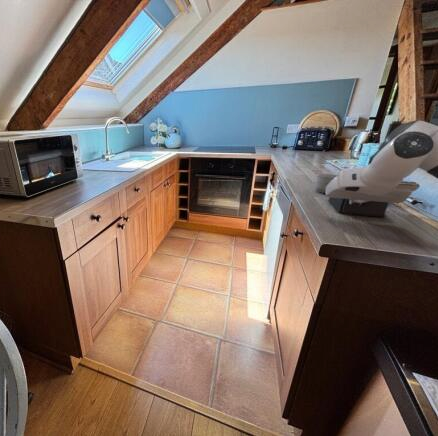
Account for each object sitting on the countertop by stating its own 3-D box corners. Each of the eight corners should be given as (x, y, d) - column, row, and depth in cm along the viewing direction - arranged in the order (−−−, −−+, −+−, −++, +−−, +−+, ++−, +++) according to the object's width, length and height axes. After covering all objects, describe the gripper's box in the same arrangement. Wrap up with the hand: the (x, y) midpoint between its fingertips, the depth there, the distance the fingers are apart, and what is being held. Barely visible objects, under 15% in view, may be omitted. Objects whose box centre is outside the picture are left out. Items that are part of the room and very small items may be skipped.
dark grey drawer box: (383, 217, 83) (393, 190, 79) (338, 212, 87) (346, 187, 84) (366, 204, 95) (375, 180, 92) (328, 200, 100) (334, 177, 96)
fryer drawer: (385, 217, 81) (393, 194, 78) (343, 213, 85) (350, 191, 82) (367, 203, 93) (374, 183, 90) (332, 200, 97) (337, 181, 94)
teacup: (310, 192, 110) (314, 175, 107) (315, 187, 118) (319, 171, 115) (348, 198, 102) (354, 180, 98) (351, 193, 109) (357, 175, 106)
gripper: (422, 173, 68) (392, 197, 80) (335, 169, 75) (319, 192, 88) (425, 193, 66) (394, 214, 78) (335, 186, 73) (319, 207, 85)
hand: (354, 202), depth 83 cm, fingers closed, pressing on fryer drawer
